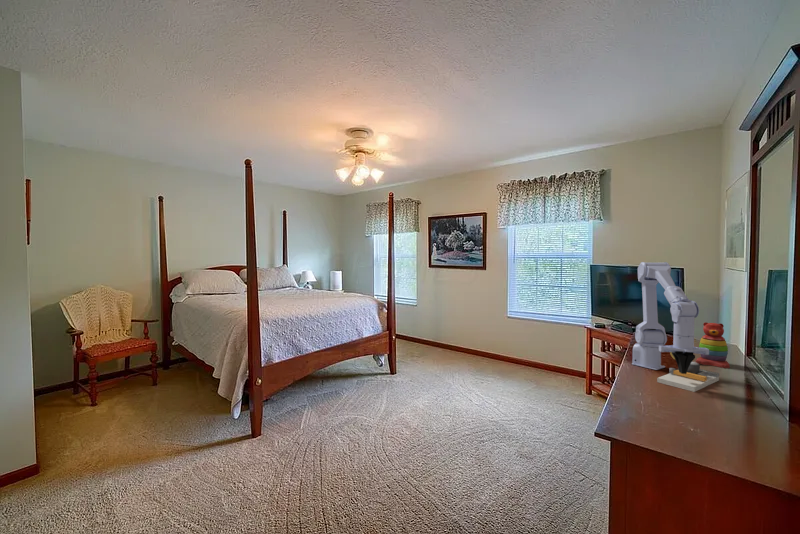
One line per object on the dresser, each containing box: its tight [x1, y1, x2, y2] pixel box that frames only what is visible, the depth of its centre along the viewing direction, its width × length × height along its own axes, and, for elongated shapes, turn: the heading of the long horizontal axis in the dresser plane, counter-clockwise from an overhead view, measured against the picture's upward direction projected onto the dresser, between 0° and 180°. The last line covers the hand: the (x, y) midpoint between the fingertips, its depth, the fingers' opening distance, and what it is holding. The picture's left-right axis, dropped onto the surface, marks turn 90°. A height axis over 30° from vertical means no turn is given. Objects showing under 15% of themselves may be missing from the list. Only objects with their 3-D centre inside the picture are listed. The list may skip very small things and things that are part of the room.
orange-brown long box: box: [668, 367, 707, 381], centre depth 129 cm, size 2×11×2 cm, turn 30°
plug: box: [687, 361, 701, 375], centre depth 130 cm, size 4×4×5 cm
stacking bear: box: [695, 321, 731, 369], centre depth 151 cm, size 11×10×18 cm
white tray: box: [656, 368, 720, 393], centre depth 129 cm, size 11×22×4 cm, turn 121°
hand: (682, 372), depth 125 cm, fingers closed
